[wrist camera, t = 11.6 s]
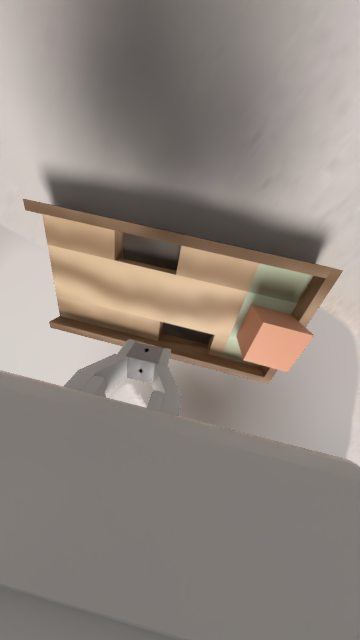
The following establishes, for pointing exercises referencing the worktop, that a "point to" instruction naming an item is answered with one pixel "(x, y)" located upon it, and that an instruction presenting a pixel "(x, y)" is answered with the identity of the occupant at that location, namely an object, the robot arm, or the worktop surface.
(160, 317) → the trap lane
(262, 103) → the worktop surface
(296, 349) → the block
